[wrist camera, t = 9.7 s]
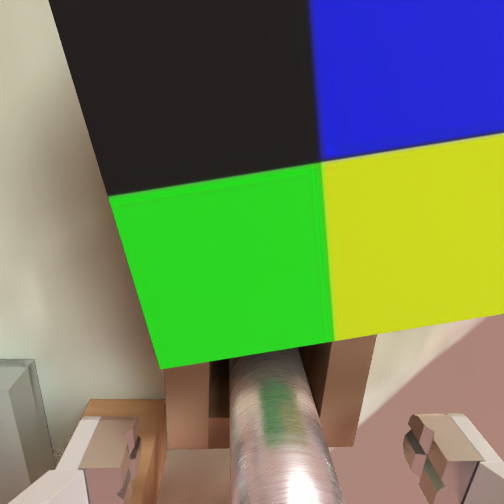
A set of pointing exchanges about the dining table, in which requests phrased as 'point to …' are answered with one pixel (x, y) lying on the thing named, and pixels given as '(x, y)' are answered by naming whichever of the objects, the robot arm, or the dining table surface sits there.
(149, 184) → the puzzle toy
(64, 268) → the dining table surface
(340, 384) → the brown square socket box
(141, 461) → the oak block
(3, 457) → the tray
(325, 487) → the cylinder
